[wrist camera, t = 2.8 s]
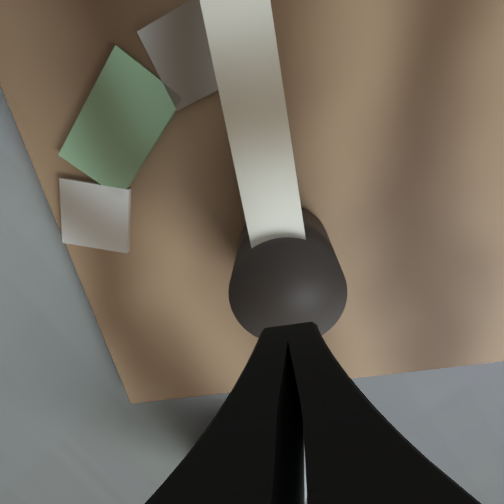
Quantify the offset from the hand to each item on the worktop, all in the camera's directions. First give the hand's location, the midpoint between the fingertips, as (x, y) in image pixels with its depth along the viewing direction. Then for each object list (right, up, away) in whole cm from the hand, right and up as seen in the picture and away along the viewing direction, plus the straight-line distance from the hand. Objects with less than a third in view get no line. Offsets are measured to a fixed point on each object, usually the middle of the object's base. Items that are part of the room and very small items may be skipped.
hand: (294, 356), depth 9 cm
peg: (-1, +7, +5) cm, 9 cm away
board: (0, +5, +7) cm, 9 cm away
